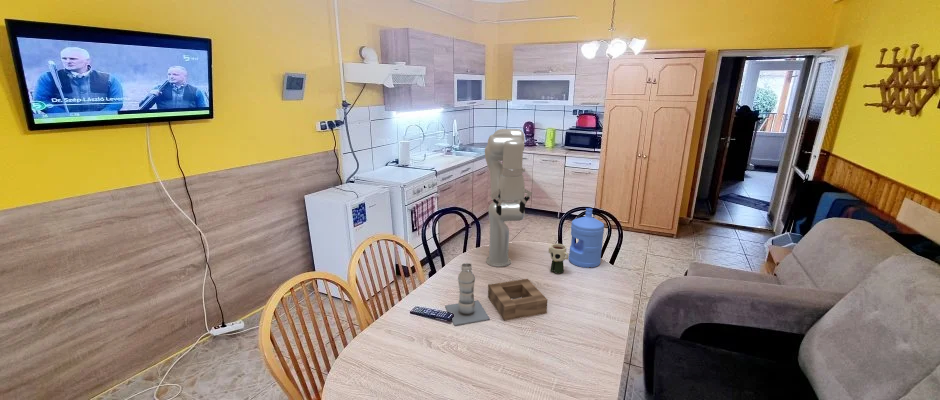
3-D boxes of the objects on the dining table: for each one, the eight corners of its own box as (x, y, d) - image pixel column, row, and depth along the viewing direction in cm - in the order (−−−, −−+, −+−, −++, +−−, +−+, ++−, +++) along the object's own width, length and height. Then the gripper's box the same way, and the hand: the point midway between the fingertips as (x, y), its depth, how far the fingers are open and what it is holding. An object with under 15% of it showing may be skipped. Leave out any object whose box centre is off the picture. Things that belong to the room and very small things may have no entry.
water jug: (596, 255, 209) (602, 204, 201) (603, 269, 194) (609, 214, 186) (566, 254, 211) (570, 203, 203) (570, 267, 196) (575, 213, 188)
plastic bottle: (473, 317, 152) (473, 269, 147) (456, 315, 154) (455, 267, 148) (476, 308, 158) (477, 262, 153) (460, 306, 160) (460, 260, 154)
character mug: (543, 270, 193) (544, 245, 189) (551, 265, 198) (553, 241, 194) (562, 277, 185) (564, 252, 182) (570, 273, 190) (573, 247, 186)
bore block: (487, 297, 168) (488, 284, 166) (526, 291, 173) (527, 278, 172) (504, 320, 152) (504, 306, 150) (546, 313, 157) (547, 299, 155)
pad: (445, 306, 161) (445, 305, 160) (478, 301, 165) (478, 300, 164) (454, 326, 148) (454, 324, 148) (489, 319, 152) (490, 318, 152)
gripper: (528, 168, 161) (526, 208, 166) (488, 171, 157) (487, 212, 162) (536, 173, 154) (534, 214, 160) (494, 175, 150) (493, 218, 155)
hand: (510, 213), depth 161 cm, fingers open, 9 cm apart
